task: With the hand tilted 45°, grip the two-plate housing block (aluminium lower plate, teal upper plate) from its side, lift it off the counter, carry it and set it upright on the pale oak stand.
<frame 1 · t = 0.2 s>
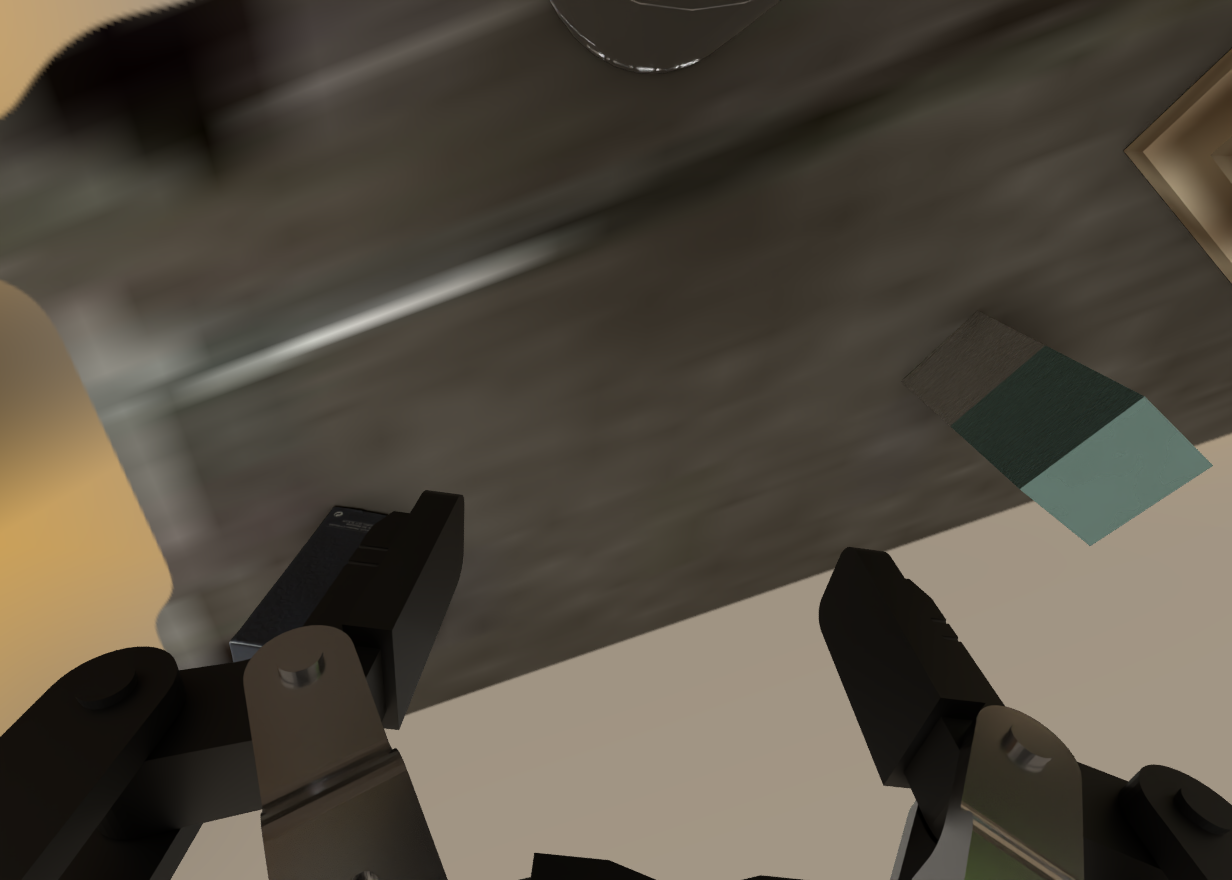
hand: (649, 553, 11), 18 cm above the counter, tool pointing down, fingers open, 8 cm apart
small box: (381, 569, 37), on the counter
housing: (966, 372, 29), on the counter
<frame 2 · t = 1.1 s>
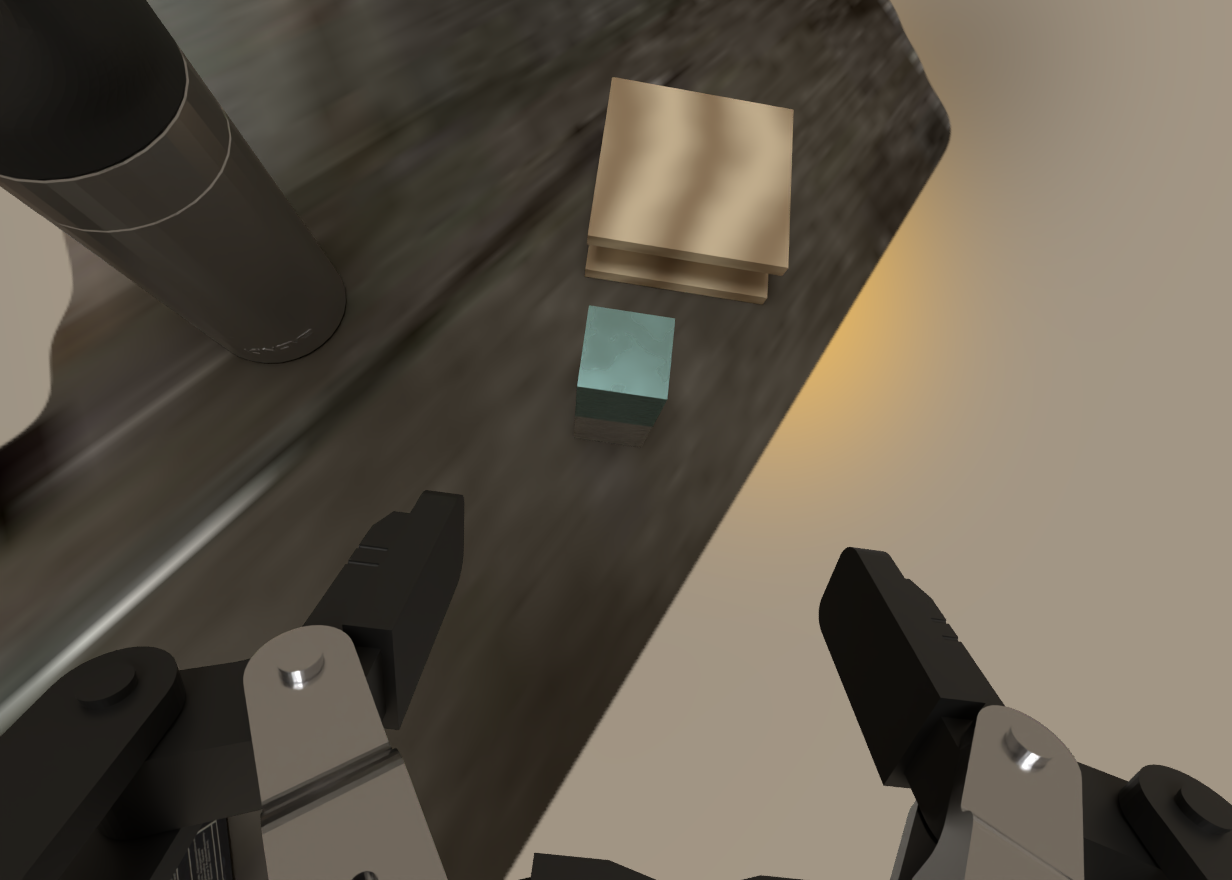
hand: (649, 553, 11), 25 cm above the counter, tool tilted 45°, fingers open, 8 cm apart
stand: (682, 215, 44), on the counter
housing: (611, 410, 39), on the counter
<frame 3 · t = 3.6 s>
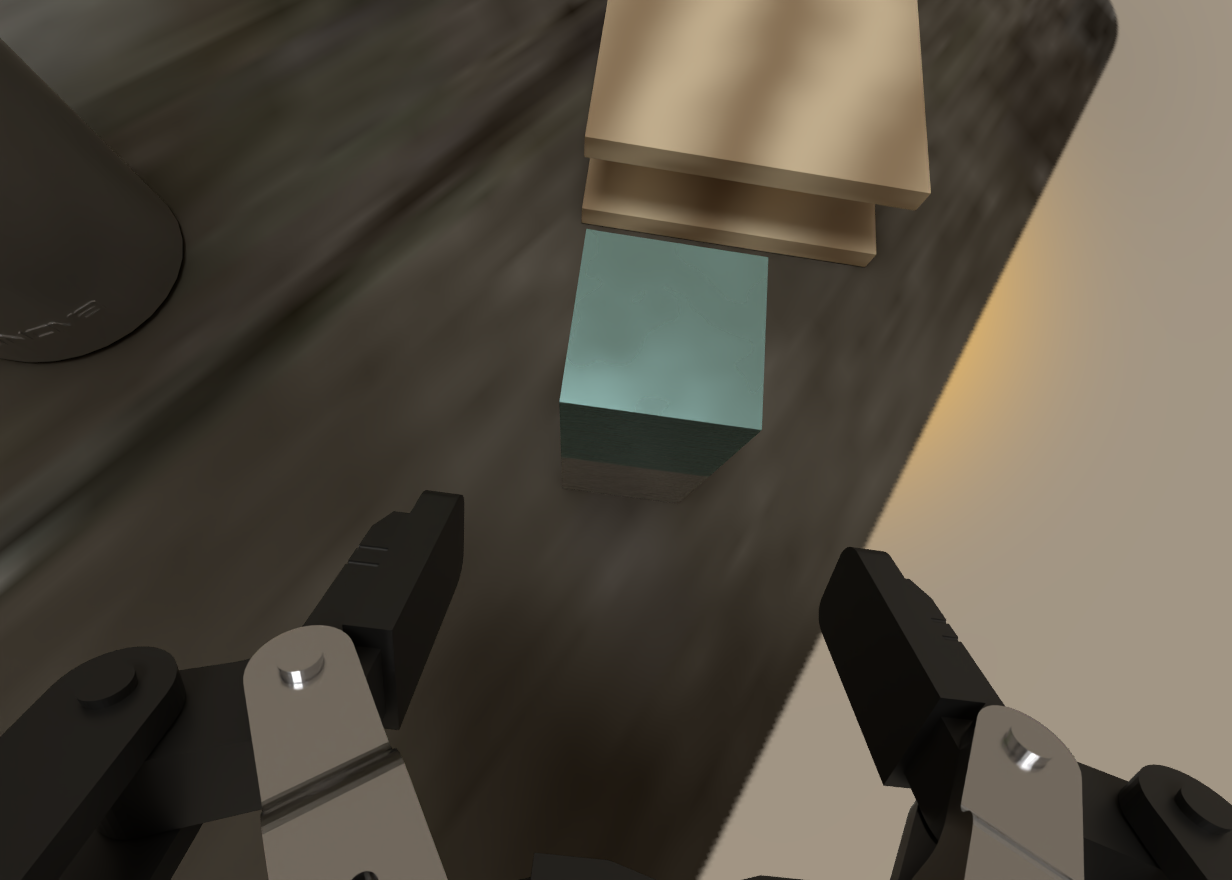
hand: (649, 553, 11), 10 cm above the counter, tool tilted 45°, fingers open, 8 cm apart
stand: (732, 132, 28), on the counter
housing: (626, 440, 23), on the counter
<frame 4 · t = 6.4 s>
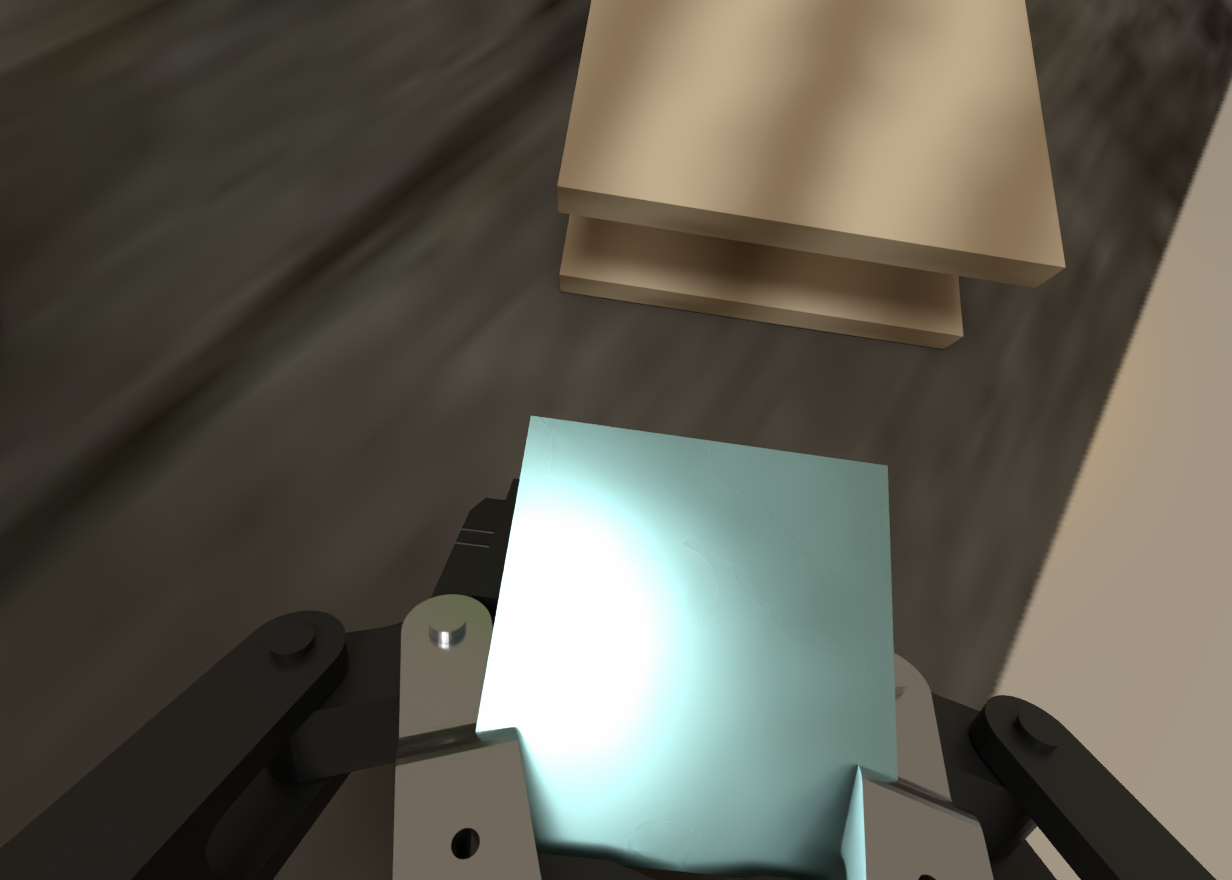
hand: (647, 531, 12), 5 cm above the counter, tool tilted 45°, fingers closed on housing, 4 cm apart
stand: (762, 164, 21), on the counter
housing: (619, 614, 16), on the counter, touching gripper
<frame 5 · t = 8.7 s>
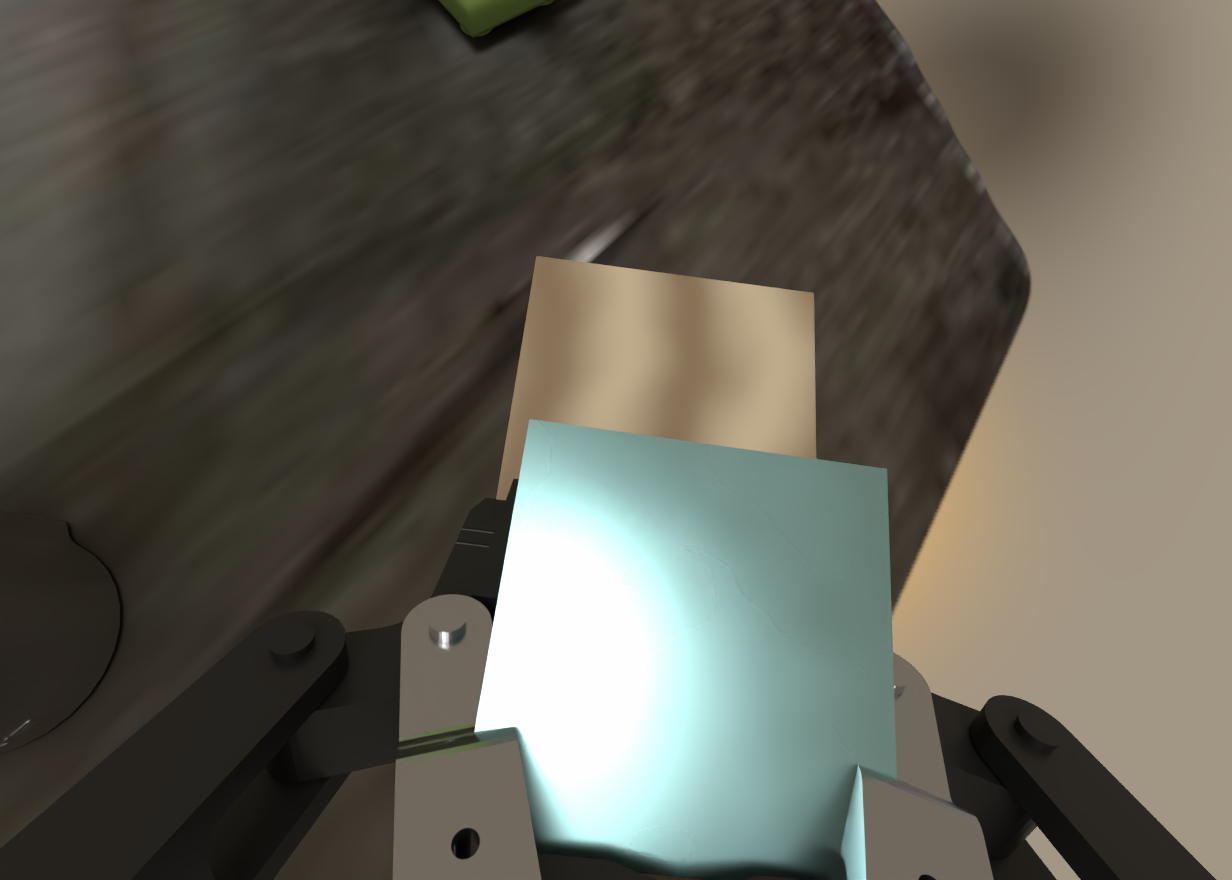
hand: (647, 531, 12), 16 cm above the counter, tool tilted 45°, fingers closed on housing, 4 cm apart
stand: (651, 437, 30), on the counter
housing: (619, 616, 16), point 11 cm above the counter, touching gripper
when the fingers open (11 cm above the counter, at t = 11.2 s): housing drops 1 cm, resting on stand.
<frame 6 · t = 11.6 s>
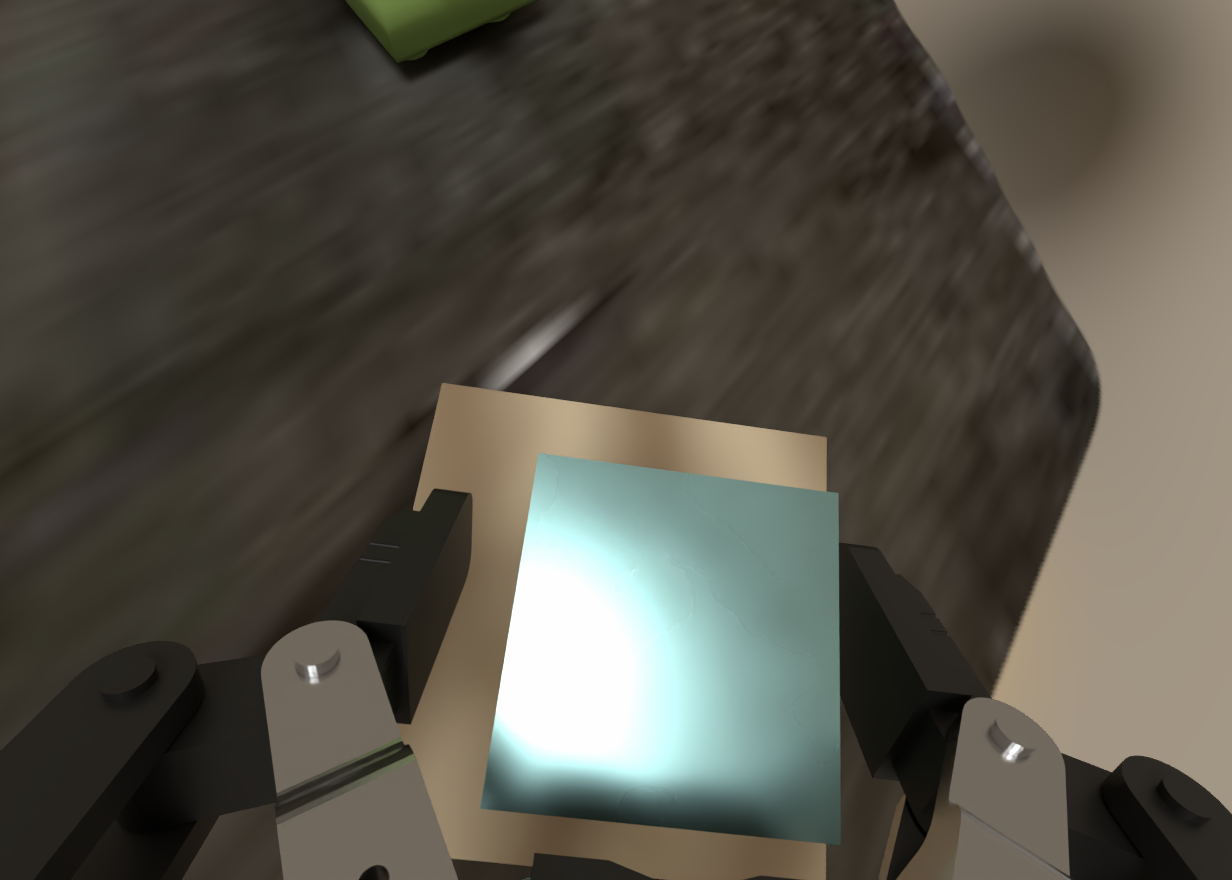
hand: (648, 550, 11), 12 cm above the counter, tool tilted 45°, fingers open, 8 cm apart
stand: (604, 611, 22), on the counter
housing: (617, 616, 17), point 5 cm above the counter, touching stand
kettle: (419, 6, 31), on the counter
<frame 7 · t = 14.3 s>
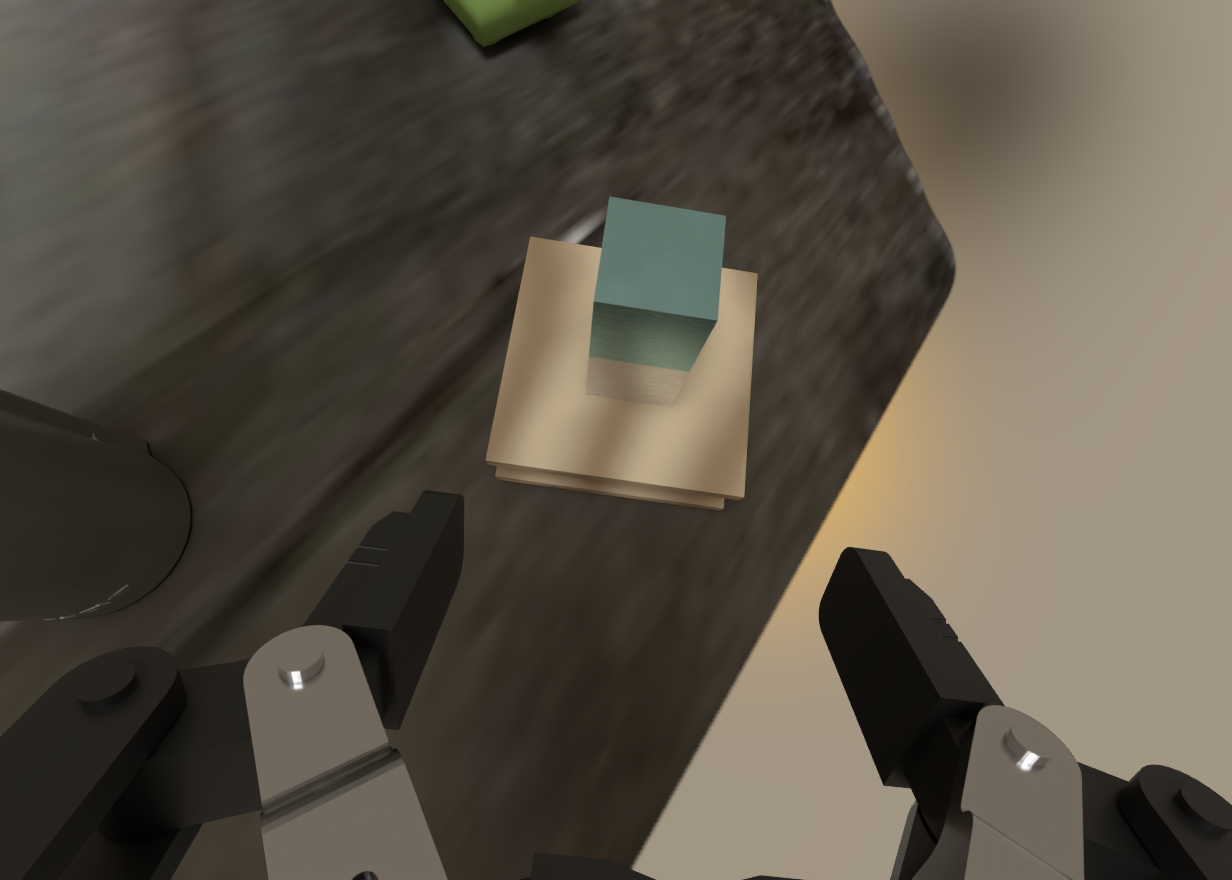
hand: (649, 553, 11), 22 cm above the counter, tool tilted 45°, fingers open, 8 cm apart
stand: (623, 391, 36), on the counter
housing: (632, 361, 31), point 5 cm above the counter, touching stand
kettle: (492, 7, 44), on the counter
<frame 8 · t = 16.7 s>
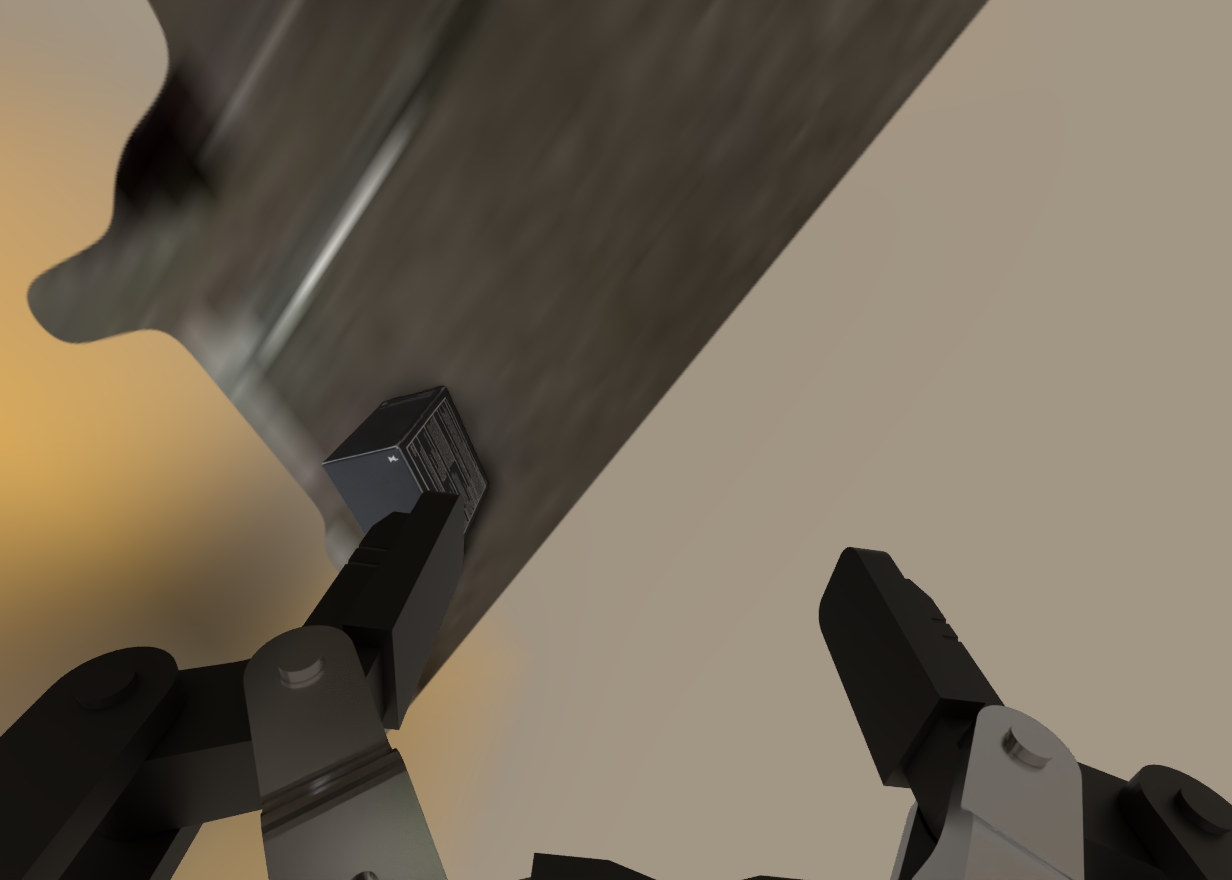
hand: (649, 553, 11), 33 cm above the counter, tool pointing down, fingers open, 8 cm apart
small box: (437, 444, 48), on the counter
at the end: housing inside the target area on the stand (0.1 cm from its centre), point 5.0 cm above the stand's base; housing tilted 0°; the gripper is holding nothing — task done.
